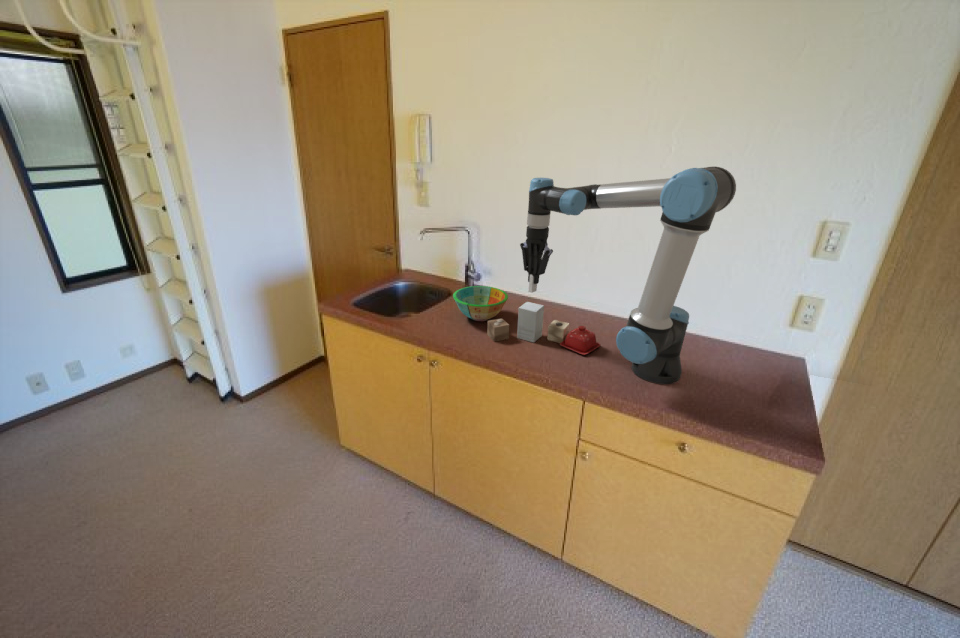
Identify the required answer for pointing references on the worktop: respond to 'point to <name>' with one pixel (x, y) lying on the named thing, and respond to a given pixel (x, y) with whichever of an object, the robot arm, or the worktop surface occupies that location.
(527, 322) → the supplement box
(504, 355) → the worktop surface
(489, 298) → the bowl
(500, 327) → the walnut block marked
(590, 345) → the butter dish
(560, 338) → the beech block marked
